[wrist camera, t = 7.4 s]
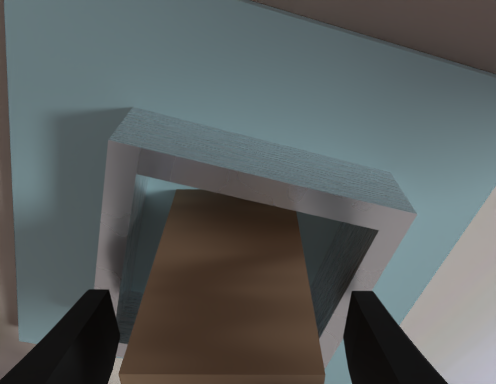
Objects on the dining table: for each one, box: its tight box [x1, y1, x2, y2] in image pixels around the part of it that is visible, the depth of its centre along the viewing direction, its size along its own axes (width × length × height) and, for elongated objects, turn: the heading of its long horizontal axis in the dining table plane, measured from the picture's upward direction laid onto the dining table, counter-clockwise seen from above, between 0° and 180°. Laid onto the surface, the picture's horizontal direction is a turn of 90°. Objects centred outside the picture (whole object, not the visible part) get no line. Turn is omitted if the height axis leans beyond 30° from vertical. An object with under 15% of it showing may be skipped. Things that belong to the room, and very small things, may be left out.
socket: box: [94, 107, 417, 369], centre depth 14 cm, size 9×9×2 cm
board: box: [4, 0, 496, 384], centre depth 15 cm, size 16×16×1 cm
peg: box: [119, 189, 325, 384], centre depth 12 cm, size 4×4×7 cm
